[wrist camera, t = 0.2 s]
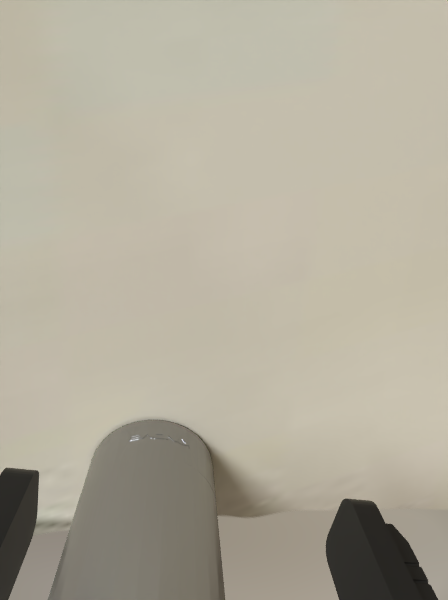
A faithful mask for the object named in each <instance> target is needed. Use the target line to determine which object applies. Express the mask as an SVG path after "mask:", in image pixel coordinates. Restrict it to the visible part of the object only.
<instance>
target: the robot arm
mask: <svg viewBox="0 0 448 600" xmlns="http://www.w3.org/2000/svg"><path fill="white" fill-rule="evenodd" d="M38 485H39V472H38V471H36V470H26V469H15V468H5V469H4V470H3V472H2V473H1V475H0V600H8V599H9V596H10V594H11V591H12V588H13V586H14V583H15V581H16V578H17V575H18V573H19V570H20V567H21V565H22V563H23V560H24V558H25V555H26V552H27V550H28V547H29V545H30V542H31V539H32V536H33V532H34V529H35V524H36V519H37V506H38ZM326 556H327V561H328V565H329V568H330V571H331V575H332V578H333V581H334V584H335V587H336V591H337V594H338V597H339V600H438V598H437V597H436V595H435V593H434V591H433V589H432V587H431V585H429V584H428V579H427V577H426V575H425V574H424V572H423V570H422V568H421V567H419V562H418V560H417V558H416V556H415V555H414V552H413V550H412V549H411V547H410V545H409V543H408V542H407V540H406V539H405V538H404V537H403V536H402V535H401V534H400V533H399V531H398V530H397V529H396V528H395V527H394V526H393V525H392V524H385V522H384V520H383V518H382V516H381V514H380V511H379V509H378V507H377V506H376V504H375V503H374V502H372V501H366V500H356V499H344V500H343V501H342V502H341V505H340V507H339V509H338V512H337V514H336V517H335V519H334V522H333V524H332V527H331V529H330V531H329V534H328V537H327V541H326ZM48 600H225V593H224V582H223V572H222V561H221V551H220V540H219V529H218V519H217V508H216V495H215V485H214V474H213V464H212V460H211V456H210V453H209V451H208V449H207V447H206V445H205V444H204V442H203V441H202V440H201V439H200V438H199V437H198V436H197V435H196V434H194V433H193V432H192V431H190V430H189V429H187V428H185V427H183V426H181V425H178V424H176V423H172V422H168V421H163V420H144V421H137V422H133V423H130V424H127V425H124V426H122V427H120V428H119V429H117V430H115V431H113V432H112V433H111V434H109V435H108V436H107V437H106V438H105V439H104V440H103V441H102V442H101V443H100V445H99V446H98V448H97V449H96V451H95V453H94V456H93V458H92V461H91V464H90V467H89V470H88V473H87V477H86V480H85V483H84V486H83V489H82V493H81V495H80V498H79V501H78V504H77V508H76V511H75V514H74V517H73V521H72V524H71V527H70V530H69V533H68V537H67V540H66V543H65V546H64V549H63V553H62V556H61V559H60V562H59V565H58V569H57V572H56V575H55V578H54V582H53V585H52V588H51V591H50V594H49V597H48Z"/></svg>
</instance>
